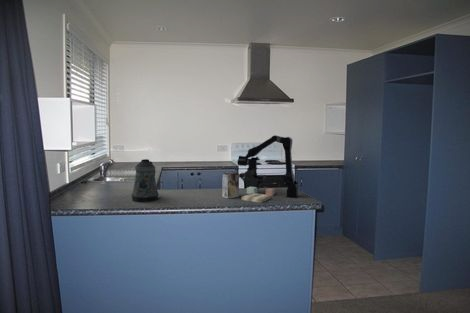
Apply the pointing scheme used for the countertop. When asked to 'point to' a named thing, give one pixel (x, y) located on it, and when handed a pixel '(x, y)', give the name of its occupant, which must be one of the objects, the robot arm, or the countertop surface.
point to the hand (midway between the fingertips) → (252, 188)
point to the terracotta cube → (270, 191)
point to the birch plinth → (256, 197)
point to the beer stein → (145, 182)
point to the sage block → (252, 190)
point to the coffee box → (230, 185)
